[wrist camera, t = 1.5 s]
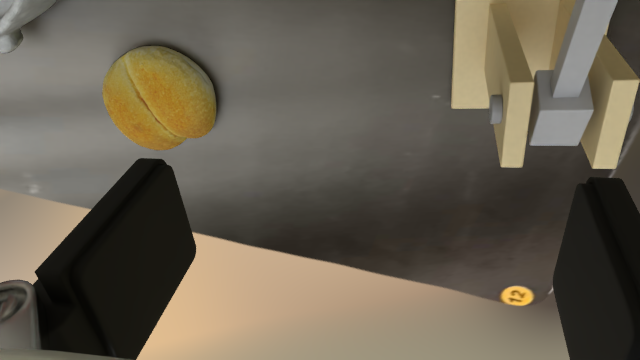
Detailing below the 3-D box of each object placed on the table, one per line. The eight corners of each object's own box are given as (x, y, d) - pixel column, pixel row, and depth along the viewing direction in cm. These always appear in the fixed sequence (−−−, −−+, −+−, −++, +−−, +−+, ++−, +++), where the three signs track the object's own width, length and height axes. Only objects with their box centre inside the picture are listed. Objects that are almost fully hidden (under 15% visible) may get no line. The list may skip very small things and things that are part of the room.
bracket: (457, -47, 30) (464, 19, 20) (620, -60, 28) (721, 7, 18) (451, 101, 36) (454, 212, 26) (586, 99, 34) (649, 218, 24)
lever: (542, -136, 15) (550, -89, 14) (729, -157, 14) (754, -108, 13) (496, 107, 26) (498, 146, 24) (602, 106, 24) (610, 146, 23)
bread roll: (238, 116, 40) (221, 141, 37) (156, 147, 44) (134, 173, 41) (180, 23, 36) (156, 42, 33) (96, 66, 40) (67, 87, 37)
